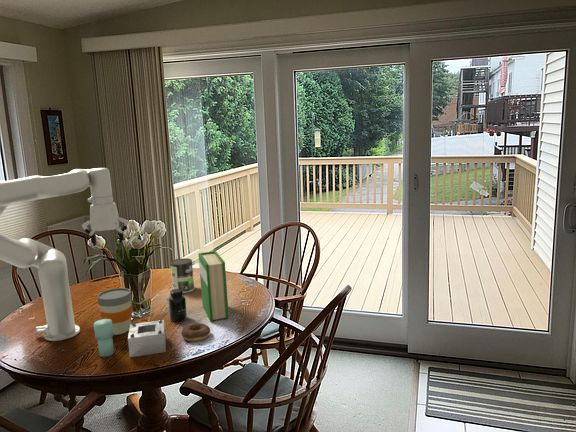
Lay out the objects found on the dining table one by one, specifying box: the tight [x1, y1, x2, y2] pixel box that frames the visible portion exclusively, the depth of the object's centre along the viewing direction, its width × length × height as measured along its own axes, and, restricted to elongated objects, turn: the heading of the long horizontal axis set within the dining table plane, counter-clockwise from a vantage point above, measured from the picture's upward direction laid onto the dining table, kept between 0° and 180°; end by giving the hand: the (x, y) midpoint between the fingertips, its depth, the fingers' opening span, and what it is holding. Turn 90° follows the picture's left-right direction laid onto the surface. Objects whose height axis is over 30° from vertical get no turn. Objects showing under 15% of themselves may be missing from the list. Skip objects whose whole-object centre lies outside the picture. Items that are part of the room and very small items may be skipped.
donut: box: [180, 322, 211, 342], centre depth 178 cm, size 11×11×4 cm
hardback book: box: [198, 250, 230, 323], centre depth 197 cm, size 18×7×24 cm, turn 20°
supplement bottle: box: [168, 289, 188, 322], centre depth 194 cm, size 7×7×12 cm
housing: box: [127, 319, 167, 358], centre depth 171 cm, size 12×12×8 cm
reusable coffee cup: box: [97, 287, 133, 336], centre depth 186 cm, size 13×13×15 cm
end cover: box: [93, 318, 115, 358], centre depth 167 cm, size 6×6×12 cm
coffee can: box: [169, 257, 195, 294], centre depth 227 cm, size 10×10×14 cm
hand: (108, 243), depth 187 cm, fingers open, 9 cm apart
